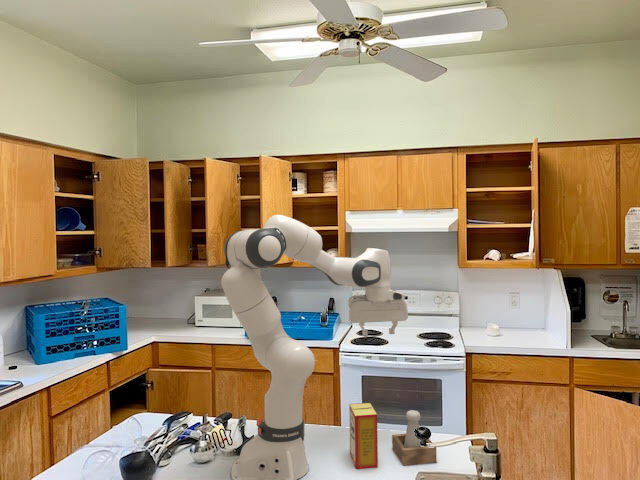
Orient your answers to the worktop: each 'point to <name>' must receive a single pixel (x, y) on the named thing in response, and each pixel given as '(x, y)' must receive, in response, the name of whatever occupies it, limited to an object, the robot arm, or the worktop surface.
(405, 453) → the box
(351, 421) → the baking soda box
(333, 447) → the worktop surface
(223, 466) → the worktop surface
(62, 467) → the worktop surface
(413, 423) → the salt shaker
